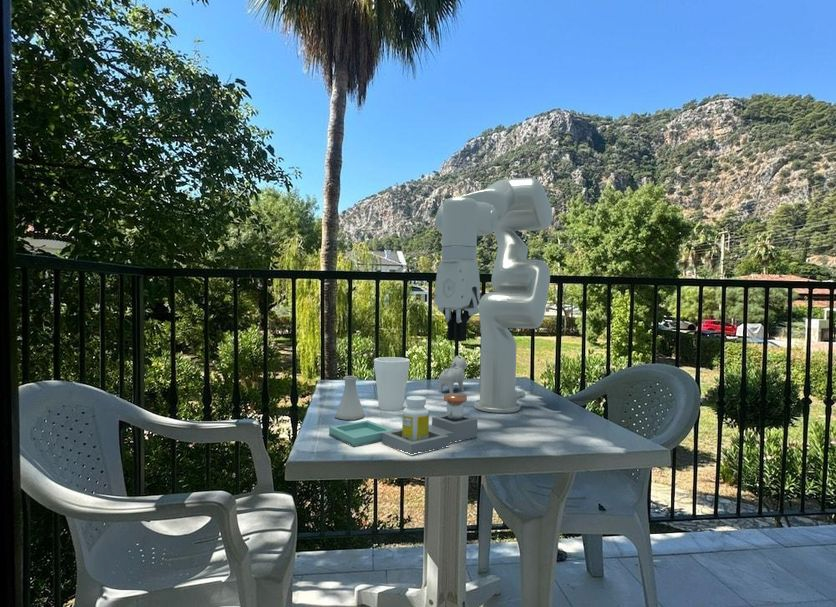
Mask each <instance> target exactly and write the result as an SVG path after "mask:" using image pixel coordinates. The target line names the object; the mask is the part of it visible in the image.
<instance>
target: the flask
mask: <svg viewBox="0 0 836 607" xmlns="http://www.w3.org/2000/svg"><path fill="white" fill-rule="evenodd" d="M357 379H358V376H355V375H346V376H344V377H343V380H344V390H343V393H342V397H341V399H340V403H339V406H338V408H337V410H336V413H335V416H334V418H336V419H340V420H344V421H345V420H346V421H347V420H350V421H351V420H354V421H355V420H359V419H363V418H364V417H365V411H364V408H363V406H362V403H361V400H360V398H359V395H358V391H357V390H358V389H357Z"/></svg>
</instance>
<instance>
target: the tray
mask: <svg viewBox="0 0 836 607" xmlns="http://www.w3.org/2000/svg"><path fill="white" fill-rule="evenodd" d="M393 430H394V429H392V428H388V427H386V426H384V425H381V424H378V423H376V422H374V421H371V420H363V421H356V422H350V423H345V424H344V423H343V424H339V425H338V424H337V425H334V426H329V429H328V432H329V433H328V435H329V436H330V437H332V436H333V437H332V438H334V437H335V438H334V439H336V438H337V439H336V440H338V439H339V440H338V441H340V440H341V441H340V442H342V441H344V442H346V443H345V444H347V443H348V444H347V445H349V444H350V445H349V446H351V445H352V446H351V447H353V446H356V447H359V445H361V446H364V445H363V444H366V445H369V444H368V443H371V444H374V443H373V442H376V443H379V442H378V441H380V442H382V433H383V432H388V431H393ZM344 442H343V443H344Z"/></svg>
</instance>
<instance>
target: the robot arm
mask: <svg viewBox="0 0 836 607" xmlns="http://www.w3.org/2000/svg"><path fill="white" fill-rule="evenodd" d="M552 222H553V209H552V204H551V202H550V200H549V197H548V195H547V192H546V190H545V187H544V185H542V182H540V180H538V179H537V178H536V177H530V176H529V177H518V178H517V177H516V178H505V179H499V180H497V181H495V182H494V183H492V184H490V185H489V186H488V187H486V188H484V189H481V190H477V191H473V192H471V193H468V194H464V195H459V196H456V197H455V196H454V197H449V198H447V199H445V200H444V201H443V204H441V205H440V206H439V208H438V209H437V212H436V214H435V227H436V229H437V231H438V232H439V233H440V234H441V252H440V256H441V261H440V262H439V263H438V267H437V271H436V278H435V287H434V305H435V306H436V307H437V311H438V312H440V313H442V314H443V316H444V317H445V322H446V323H447V328H446V330H447V331H446V332H447V334H446V336H447V337H446V340H447V341H448V342H449V341H450V342H451V341H453V342H456V343H457V342H458V343H459V342H466V341H467V335H468V333H467V331H468V330H467V328H468V325H467V324H468V323H470V319H471V318H472V317H473V316H475V315H477V314H478V315H479V323H480V336H481V337H480V371H479V372H480V375H479V376H480V377H479V399H477V400H474V401H473V408H475V409H476V410H479V411H483V412H488V413H495V414H496V413H497V414H507V413H508V414H509V413H517V412H518V411H520V410H521V408H522V406H521V404H520V403H519V402H518V400H519V399H524V398H526V392H525V391H524V390H521V391H520V390H519V391H518V390H516V379H517V378H516V376H517V372H516V371H517V342H516V339H515V337H514V336H513V334H512V333H511V331H510V330H509V329H528V330H529V329H538V328H539V327H541V325H542V323H543V321H544V317H545V314H546V307H547V304H548V303H547V302H548V296H549V290H550V282H551V273H550V268H549V265H548V264H547V263H546V261H544V260H541V259H527V258H528V252H529V251H528V250H529V249H528V247H527V245H526V243H525V242H524V241H523V239H522V238H521V237H520V236H518V235H517V234H516V232H517V231H518V232H520V231H521V232H523V231H525V232H526V231H544V230H546V229H548V228H549V227H550V226H551V224H552ZM493 233H494V236H495V240H496V243H497V250H496V251H497V253H496V257H495V260H494V265H493V270H492V274H491V280H490V281H491V286H492V289H493V290H495V291H491V292H487V293H485V294H483V295H482V296H481V283H480V282H481V280H480V269H479V264H478V262H477V245H478V244H477V239H478V238H477V237H484V236H488V235H491V234H493ZM480 297H481V298H480Z"/></svg>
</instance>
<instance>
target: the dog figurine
mask: <svg viewBox="0 0 836 607" xmlns="http://www.w3.org/2000/svg"><path fill="white" fill-rule="evenodd" d="M466 360H467V359H466V357H465V356H464V357H460V356H459V355H456V356H454V359H453V360H452V362H451V366H449V368H445V370H443V371H441V372H440V374H439V377H438V380H439V381H438V382H439V383H438V385H439V387H438V389H439V390H438V392H439V393H440V392H442V393H443V387H444V386H446V387H447V388H448V389H449V393H454V389H453V388H454V386H455V385H454V384H455V383H457V384H458V388H459V391H460V390H462V391H461V392H464V391H465V389H464V379H465V378H466V375H465V374H466V373H465V369H467V367H468V363H467V361H466Z"/></svg>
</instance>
